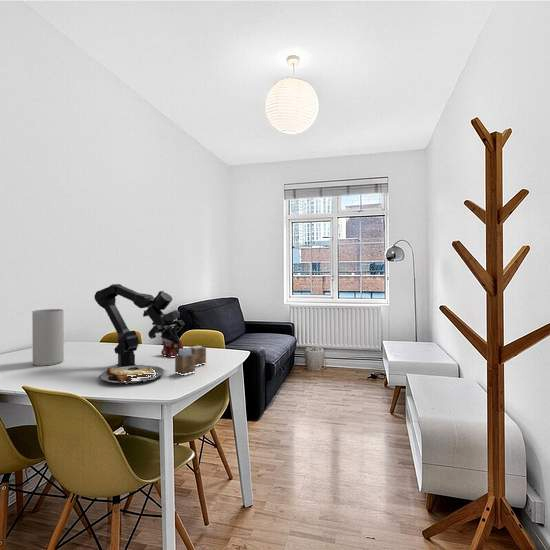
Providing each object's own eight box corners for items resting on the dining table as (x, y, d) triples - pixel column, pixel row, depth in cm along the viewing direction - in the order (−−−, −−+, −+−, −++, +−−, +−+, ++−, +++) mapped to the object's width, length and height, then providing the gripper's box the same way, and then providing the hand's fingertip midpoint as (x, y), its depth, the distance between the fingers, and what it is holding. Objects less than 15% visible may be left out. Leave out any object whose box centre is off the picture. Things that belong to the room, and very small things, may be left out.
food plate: (93, 388, 135) (93, 379, 135) (104, 372, 157) (104, 364, 157) (163, 384, 142) (163, 375, 142) (164, 369, 164) (164, 361, 164)
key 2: (183, 369, 153) (184, 350, 152) (178, 367, 155) (178, 348, 155) (191, 367, 155) (191, 348, 155) (186, 365, 158) (186, 347, 158)
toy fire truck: (177, 358, 181) (177, 338, 181) (158, 356, 186) (158, 336, 186) (186, 355, 187) (186, 335, 187) (167, 353, 192) (168, 333, 192)
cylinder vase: (48, 367, 164) (48, 312, 163) (25, 365, 166) (25, 311, 166) (69, 360, 176) (69, 309, 176) (48, 358, 179) (47, 308, 178)
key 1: (195, 365, 167) (195, 347, 167) (191, 363, 169) (191, 346, 169) (202, 363, 170) (202, 346, 170) (197, 362, 172) (197, 345, 172)
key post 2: (183, 376, 151) (183, 357, 151) (175, 373, 155) (175, 355, 155) (195, 373, 156) (195, 354, 155) (186, 370, 160) (187, 352, 159)
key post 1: (195, 367, 165) (195, 349, 165) (187, 364, 169) (187, 347, 169) (205, 364, 170) (205, 347, 170) (198, 362, 174) (198, 345, 174)
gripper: (153, 306, 150) (175, 334, 146) (181, 302, 167) (201, 327, 163) (138, 324, 153) (160, 352, 149) (167, 319, 170) (187, 343, 166)
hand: (178, 343), depth 156 cm, fingers closed
